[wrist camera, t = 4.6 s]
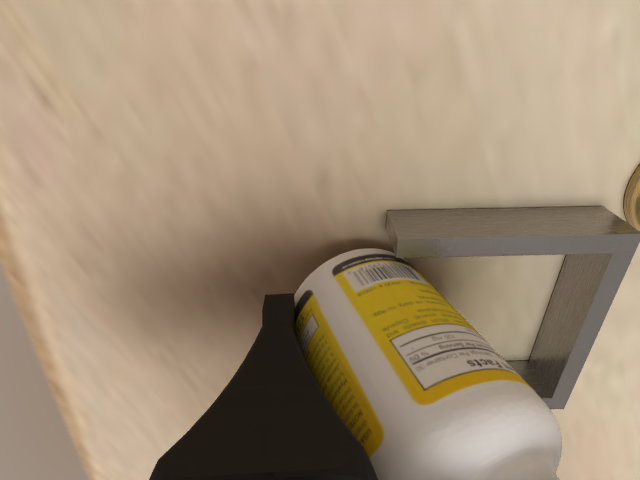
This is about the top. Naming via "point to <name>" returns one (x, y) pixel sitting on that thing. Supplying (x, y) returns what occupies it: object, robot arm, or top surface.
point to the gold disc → (633, 200)
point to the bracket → (536, 239)
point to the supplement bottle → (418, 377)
